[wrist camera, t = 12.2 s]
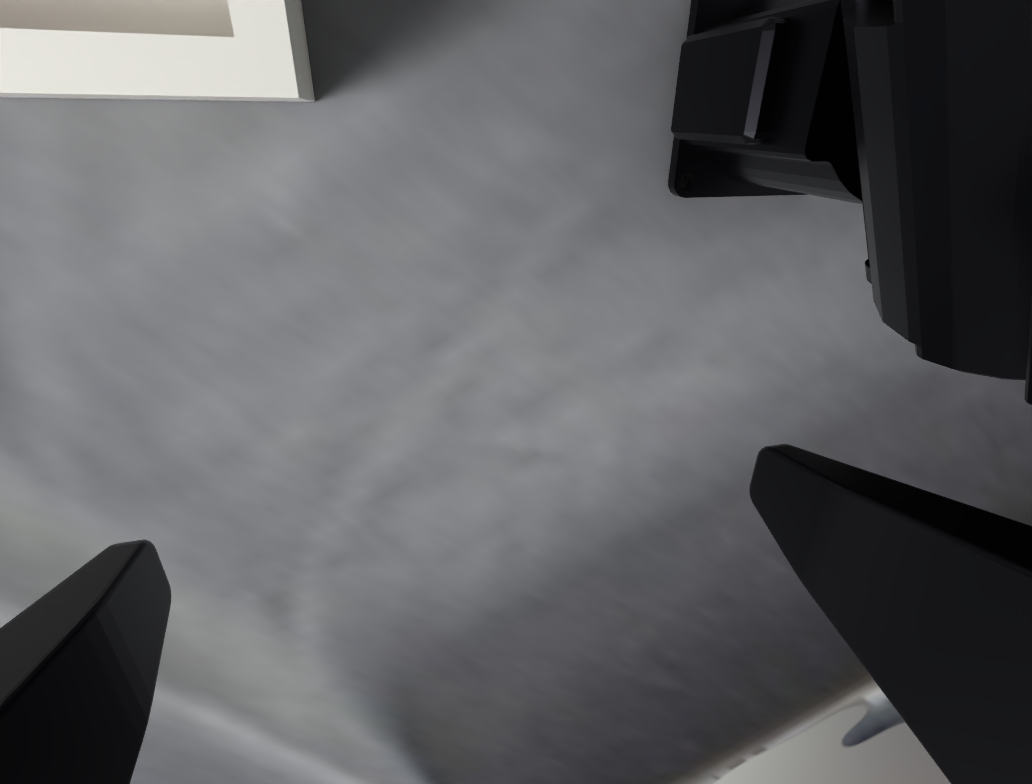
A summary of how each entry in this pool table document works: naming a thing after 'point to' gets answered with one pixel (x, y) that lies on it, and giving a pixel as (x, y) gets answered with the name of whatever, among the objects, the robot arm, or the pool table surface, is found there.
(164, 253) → the pool table surface
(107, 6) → the bin
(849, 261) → the pool table surface
